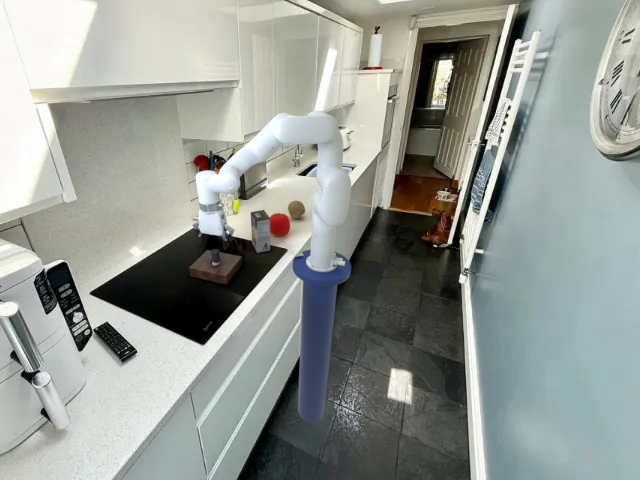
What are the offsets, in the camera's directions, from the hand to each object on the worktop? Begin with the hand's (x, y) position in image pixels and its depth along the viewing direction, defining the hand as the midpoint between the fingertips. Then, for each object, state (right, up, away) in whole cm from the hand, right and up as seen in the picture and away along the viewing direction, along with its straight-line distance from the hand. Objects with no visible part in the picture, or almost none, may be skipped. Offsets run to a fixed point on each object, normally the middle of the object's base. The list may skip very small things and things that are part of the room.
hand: (215, 246), depth 118 cm
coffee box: (+18, -2, +20) cm, 27 cm away
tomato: (+27, +3, +31) cm, 41 cm away
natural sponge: (+37, +11, +46) cm, 60 cm away
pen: (0, -10, +5) cm, 11 cm away
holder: (0, -10, +5) cm, 11 cm away
